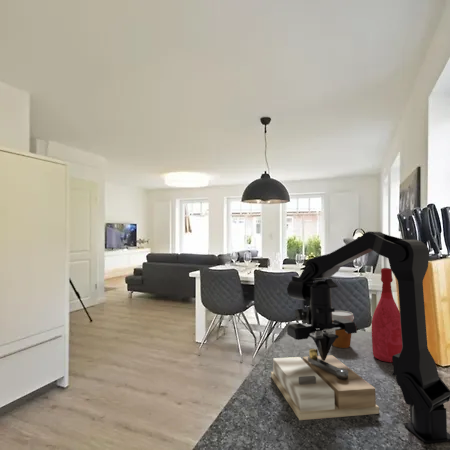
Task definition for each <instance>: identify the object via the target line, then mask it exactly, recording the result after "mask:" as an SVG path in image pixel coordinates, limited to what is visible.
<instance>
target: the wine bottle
mask: <svg viewBox="0 0 450 450" xmlns="http://www.w3.org/2000/svg"><path fill="white" fill-rule="evenodd" d="M380 275H381V276H380V280H381V283H382V285H381V294H380V297H379V301H378V303H377V305H376V306H375V309H374V312H373V315H372V319H371V346H372V355H373V357H374V358H375V359H377V360H379V361H382V362H384V363H385V362H386V363H391V364H393V362H392V356H393V355H396V354H399V353H401V350H402V335H401V320H400V308H398V306H397V304H396V301H395V299H394V296H393V292H392V283H393V272H392V270H391V268H390V267H382V268H381V269H380Z"/></svg>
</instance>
